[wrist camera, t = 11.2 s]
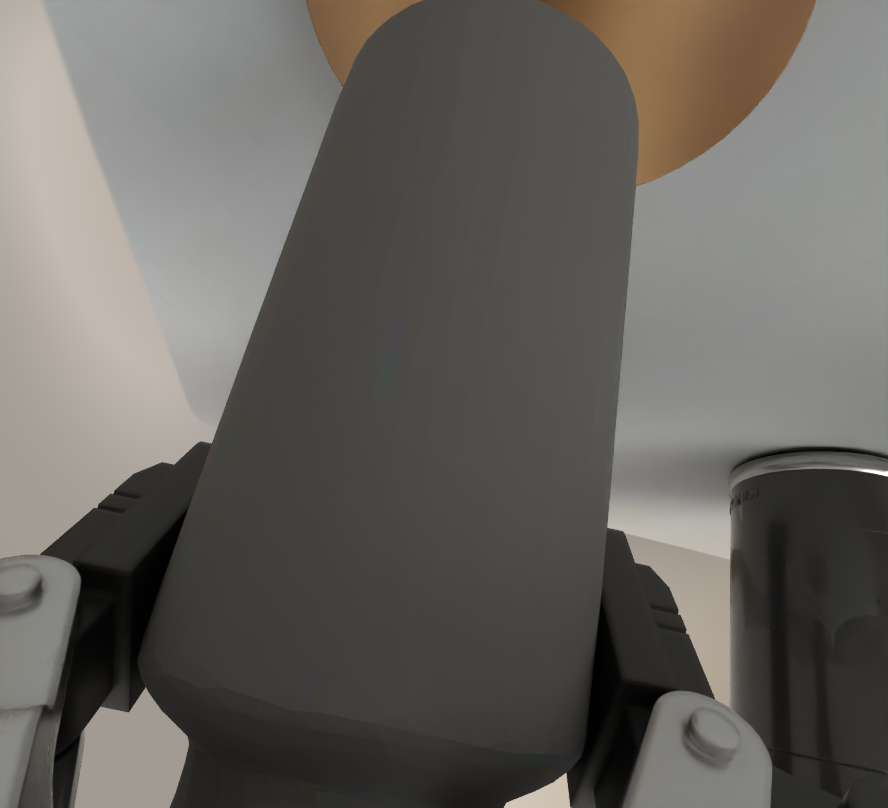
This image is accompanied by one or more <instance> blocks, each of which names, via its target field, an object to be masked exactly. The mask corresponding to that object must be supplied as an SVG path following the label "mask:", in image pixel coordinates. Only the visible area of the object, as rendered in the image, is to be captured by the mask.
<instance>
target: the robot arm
mask: <svg viewBox="0 0 888 808" xmlns="http://www.w3.org/2000/svg"><path fill="white" fill-rule="evenodd" d="M211 445H212V444H211V443H206V442H199V443H197V444H196V445H195V446H194V447H193V448H192V449H191V450H190V451H189V452H187V453H186V454H185V455H184V456H183V457H182V458H181V459H180V460H179V461H178V462H177V463H176V464H175V465H172V464H168V463H163V462H162V463H159V464H157V465H155V466H152V467H150V468H147V469H145V470H142V471H140V472H137V473H135V474H133V475H132V476H131V477H130V478H128V479H127V480H126V481H125V482H124V483H123V484H122V485H120V486H119V487H118V488H117V489H116V490H115V491H114V494H110V495H109V496H108V497H106V498H105V499H104V500H103V501H102V502H101V503H99V505H98V508H94V509H92V510H91V511H90V512H89V513H88V514H87V515H85V516H84V517H83V518H82V519H81V520H80V521H79V522H77V523H76V524H75V525H74V526H73V527H71V528H70V529H69V530H68V531H67V532H66V533H64V534H63V535H62V536H61V537H60V538H59V539H58V540H56V541H55V542H54V543H53V544H52V545H51V546H49V547H48V548H47V549H46V550H45V551H43V552H42V553H41V554H40V555H20V556H13V557H7V558H2V559H0V808H74V805H75V799H76V793H77V787H78V781H79V774H80V768H81V761H82V755H83V749H84V728H85V727H86V725H87V724H88V723H89V721H90V720H91V718H92V717H93V716H94V714H95V713H96V712H97V710H98V709H99V708H100V706H101V707H105V708H111V709H115V710H120V711H124V712H129V711H130V710H131V708H132V707H133V705H134V704H135V702H136V701H137V699H138V698H139V696H140V695H141V693H142V692H143V690H144V689H145V687H146V686H145V684H144V682H143V680H142V678H141V675H140V672H139V668H138V664H137V660H138V656H139V652H140V648H141V644H142V640H143V637H144V634H145V631H146V628H147V625H148V622H149V619H150V616H151V613H152V610H153V607H154V604H155V601H156V598H157V595H158V592H159V589H160V586H161V583H162V580H163V578H164V575H165V572H166V569H167V567H168V564H169V561H170V558H171V555H172V553H173V550H174V547H175V544H176V542H177V539H178V536H179V533H180V531H181V528H182V525H183V522H184V520H185V517H186V514H187V511H188V508H189V506H190V503H191V500H192V497H193V495H194V492H195V489H196V486H197V484H198V481H199V478H200V475H201V473H202V470H203V467H204V464H205V461H206V459H207V456H208V453H209V450H210V448H211ZM729 496H730V498H731V501H730V515H731V546H730V562H731V563H730V708H729V707H727V706H725V705H724V704H722V703H720V702H719V701H717V700H715V698H714V695H713V693H712V690H711V688H710V685H709V683H708V681H707V678H706V676H705V673H704V671H703V669H702V666H701V664H700V661H699V659H698V656H697V654H696V651H695V649H694V647H693V644H692V642H691V639H690V637H689V635H688V634H686V627H685V625H684V622H683V620H682V617H681V615H678V608H677V605H676V603H675V601H674V598H673V596H672V593H671V591H670V589H669V587H668V586H667V585H666V584H665V583H664V582H663V580H662V579H661V578H660V577H659V576H658V575H657V574H656V573H655V572H654V571H653V570H652V568H651V567H650V566H646V565H641V564H637V563H635V562H634V559H633V556H632V553H631V550H630V547H629V545H628V542H627V539H626V536H625V534H624V532H623V531H619V530H615V529H610V528H607V534H606V546H605V558H604V570H603V582H602V592H601V602H600V611H599V621H598V631H597V641H596V650H595V660H594V670H593V680H592V689H591V699H590V709H589V718H588V728H587V738H586V742H585V747H584V751H583V755H582V756H581V758H580V759H579V760H578V761H577V762H576V764H575V765H574V766H573V767H572V768H571V769H570V770H569V771H568V772H566V773H567V782H568V790H569V799H570V806H571V808H888V459H886V458H882V457H877V456H872V455H865V454H857V453H847V452H832V451H819V452H796V453H785V454H779V455H772V456H767V457H763V458H759V459H756V460H752V461H749V462H747V463H744V464H742V465H740V466H739V467H737V468H736V469H735V470H733V471H732V473H731V474H730V477H729Z"/></svg>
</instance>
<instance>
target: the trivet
mask: <svg viewBox="0 0 888 808" xmlns="http://www.w3.org/2000/svg"><path fill="white" fill-rule="evenodd" d="M306 1H307V5H308V10H309V14H310V17H311V20H312V23H313V26H314V29H315V32H316V34H317V37H318V40H319V43H320V45H321V47H322V49H323V51H324V53H325V56H326V58H327V60H328V62H329V64H330V66H331V68H332V70H333V72H334V73H335V75H336V76H337V78H338V80H339V81H340V83H341V84H342V86H343V87H344V84H345V82H346V80H347V77H348V75H349V72H350V70H351V68H352V65H353V63H354V61H355V58H356V56H357V55H358V53H359V52H360V50H361V48H362V47H363V45H364V44H365V42H366V40H367V39H368V38H369V37H370V36H371V35H372V34H373V33H374V32H375V31H376V30H377V29H378V28H379V27H380V26H381V25H382V24H383V23H385V22H386V21H387V20H388V19H389V18H391V17H392V16H394V15H396V14H397V13H399V12H400V11H402V10H404V9H405V8H407V7H408V6H410V5H412V4H415V3H417V2H420V1H423V0H306ZM537 1H540V2H544V3H546V4H548V5H550V6H552V7H554V8H556V9H558V10H560V11H562V12H564V13H565V14H567V15H569V16H571V17H572V18H574V19H575V20H577V21H578V22H580V23H581V24H583V25H584V26H585V27H587V28H588V29H589V30H590V31H591V32H593V33H594V34H595V35H596V36H597V37H598V38H599V39H600V40H601V41H602V42H603V43H604V44H605V45H606V47H607V48H608V49H609V50H610V51H611V53H612V54H613V55H614V57H615V58H616V60H617V61H618V63H619V64H620V66H621V67H622V69H623V70H624V72H625V74H626V76H627V78H628V81H629V84H630V87H631V89H632V92H633V95H634V98H635V102H636V108H637V114H638V121H639V146H638V165H637V177H636V186H638V185H641V184H644V183H647V182H649V181H652V180H655V179H657V178H659V177H661V176H663V175H665V174H667V173H670V172H672V171H674V170H676V169H678V168H680V167H681V166H683V165H685V164H686V163H688V162H690V161H691V160H693V159H695V158H696V157H698V156H700V155H701V154H703V153H704V152H706V151H707V150H708V149H710V148H711V147H712V146H714V145H715V144H716V143H718V142H719V141H720V140H722V139H723V138H724V137H726V136H727V135H728V134H729V133H730V132H731V131H732V130H733V129H734V128H735V127H736V126H737V125H739V124H740V123H741V122H742V121H743V120H744V119H745V118H746V117H747V116H748V115H749V114H750V113H751V112H752V110H753V109H754V108H755V107H756V106H757V105H758V104H759V102H760V101H761V100H762V99H763V98H764V97H765V95H766V94H767V93H768V92H769V91H770V89H771V88H772V86H773V85H774V83H775V82H776V80H777V79H778V77H779V76H780V75H781V73H782V72H783V70H784V69H785V67H786V66H787V64H788V63H789V61H790V59H791V57H792V55H793V53H794V51H795V49H796V48H797V46H798V44H799V42H800V40H801V38H802V36H803V34H804V32H805V30H806V27H807V25H808V22H809V19H810V17H811V14H812V11H813V9H814V6H815V3H816V0H537Z"/></svg>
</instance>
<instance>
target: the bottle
mask: <svg viewBox="0 0 888 808" xmlns="http://www.w3.org/2000/svg"><path fill="white" fill-rule="evenodd" d="M638 146H639V121H638V114H637V108H636V102H635V98H634V95H633V92H632V89H631V87H630V84H629V81H628V78H627V76H626V74H625V72H624V70H623V69H622V67H621V66H620V64H619V63H618V61H617V60H616V58H615V57H614V55H613V54H612V53H611V51H610V50H609V49H608V48H607V47H606V45H605V44H604V43H603V42H602V41H601V40H600V39H599V38H598V37H597V36H596V35H595V34H594V33H593V32H591V31H590V30H589V29H588V28H587V27H585V26H584V25H583V24H581V23H580V22H578V21H577V20H575V19H574V18H572V17H571V16H569V15H567V14H565V13H564V12H562V11H560V10H558V9H556V8H554V7H552V6H550V5H548V4H546V3H544V2H540V1H537V0H423V1H420V2H417V3H415V4H412V5H410V6H408V7H407V8H405V9H404V10H402V11H400V12H399V13H397V14H396V15H394V16H392V17H391V18H389V19H388V20H387V21H386V22H385V23H383V24H382V25H381V26H380V27H379V28H378V29H377V30H376V31H375V32H374V33H373V34H372V35H371V36H370V37H369V38H368V39H367V40H366V42H365V44H364V45H363V47H362V48H361V50H360V52H359V53H358V55H357V56H356V58H355V61H354V63H353V65H352V68H351V70H350V72H349V75H348V77H347V80H346V82H345V84H344V87H343V89H342V91H341V94H340V96H339V99H338V101H337V103H336V106H335V109H334V111H333V114H332V117H331V120H330V122H329V125H328V128H327V130H326V133H325V136H324V139H323V141H322V144H321V147H320V149H319V152H318V155H317V158H316V160H315V163H314V166H313V168H312V171H311V174H310V177H309V179H308V182H307V185H306V187H305V190H304V193H303V196H302V198H301V201H300V204H299V206H298V209H297V212H296V215H295V217H294V220H293V223H292V225H291V228H290V231H289V234H288V236H287V239H286V242H285V244H284V247H283V250H282V253H281V255H280V258H279V261H278V263H277V266H276V269H275V272H274V274H273V277H272V280H271V282H270V285H269V288H268V291H267V293H266V296H265V299H264V301H263V304H262V307H261V310H260V312H259V315H258V318H257V320H256V323H255V326H254V329H253V331H252V334H251V337H250V340H249V343H248V345H247V348H246V351H245V354H244V356H243V359H242V362H241V365H240V367H239V370H238V373H237V376H236V378H235V381H234V384H233V387H232V390H231V392H230V395H229V398H228V401H227V403H226V406H225V409H224V412H223V414H222V417H221V420H220V423H219V425H218V428H217V431H216V434H215V437H214V440H213V442H212V445H211V448H210V450H209V453H208V456H207V459H206V461H205V464H204V467H203V470H202V473H201V475H200V478H199V481H198V484H197V486H196V489H195V492H194V495H193V497H192V500H191V503H190V506H189V508H188V511H187V514H186V517H185V520H184V522H183V525H182V528H181V531H180V533H179V536H178V539H177V542H176V544H175V547H174V550H173V553H172V555H171V558H170V561H169V564H168V567H167V569H166V572H165V575H164V578H163V580H162V583H161V586H160V589H159V592H158V595H157V598H156V601H155V604H154V607H153V610H152V613H151V616H150V619H149V622H148V625H147V628H146V631H145V634H144V637H143V640H142V644H141V648H140V652H139V656H138V660H137V664H138V668H139V672H140V675H141V678H142V680H143V682H144V684H145V686H146V688H147V690H148V692H149V693H150V695H151V696H152V698H153V699H154V700H155V702H156V703H157V705H158V706H159V707H160V709H161V710H162V711H163V712H164V713H165V714H166V715H167V716H168V717H169V718H170V719H171V720H172V721H173V722H174V723H175V724H176V725H177V726H178V727H179V728H180V729H181V730H182V731H183V732H184V733H185V734H186V735H187V736H188V739H189V748H188V752H187V756H186V761H185V765H184V768H183V771H182V774H181V777H180V781H179V784H178V787H177V790H176V793H175V796H174V798H173V801H172V803H171V806H170V808H504V806H505V804H506V802H509V801H511V800H514V799H516V798H519V797H521V796H524V795H526V794H529V793H532V792H534V791H536V790H538V789H540V788H542V787H544V786H546V785H548V784H550V783H553V782H554V781H555V780H557V779H558V778H559V777H561V776H562V775H563V774H565V773H566V772H568V771H569V770H570V769H571V768H572V767H573V766H574V765H575V764H576V762H577V761H578V760H579V759H580V758H581V756H582V755H583V751H584V747H585V742H586V738H587V728H588V718H589V709H590V699H591V689H592V680H593V670H594V660H595V650H596V641H597V631H598V621H599V611H600V602H601V592H602V582H603V570H604V558H605V546H606V534H607V522H608V510H609V499H610V487H611V475H612V463H613V451H614V439H615V427H616V415H617V403H618V392H619V380H620V368H621V356H622V344H623V332H624V320H625V308H626V296H627V284H628V273H629V261H630V249H631V237H632V225H633V213H634V201H635V189H636V177H637V165H638Z"/></svg>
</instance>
